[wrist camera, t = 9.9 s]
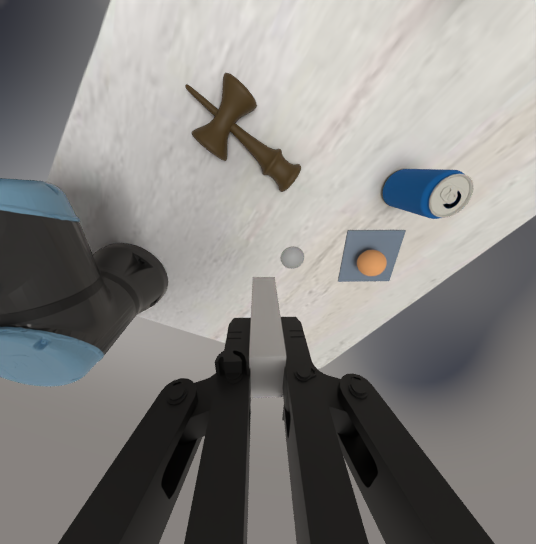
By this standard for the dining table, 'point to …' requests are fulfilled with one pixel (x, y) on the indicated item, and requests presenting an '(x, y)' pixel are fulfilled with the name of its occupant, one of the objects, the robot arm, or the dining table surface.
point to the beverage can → (428, 191)
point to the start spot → (292, 257)
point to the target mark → (369, 240)
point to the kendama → (240, 132)
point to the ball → (371, 263)
